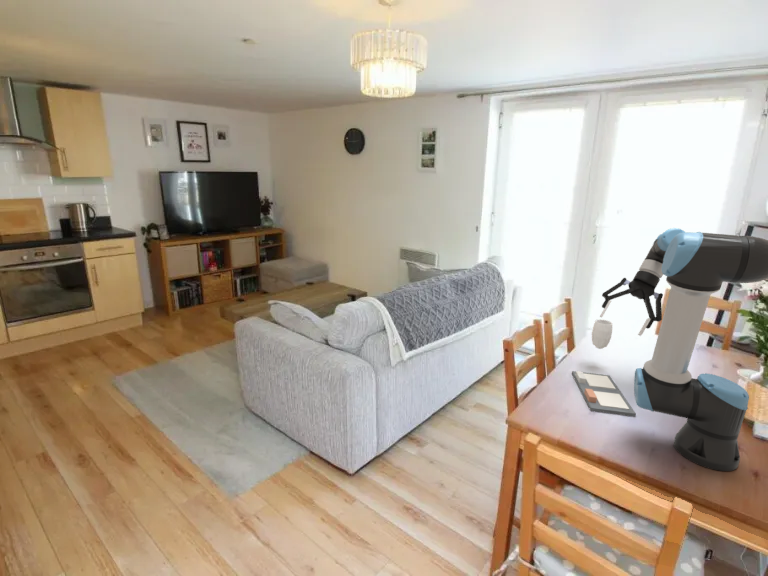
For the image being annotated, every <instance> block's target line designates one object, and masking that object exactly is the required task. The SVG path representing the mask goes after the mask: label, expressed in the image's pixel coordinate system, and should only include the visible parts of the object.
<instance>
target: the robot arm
mask: <svg viewBox="0 0 768 576" xmlns="http://www.w3.org/2000/svg"><path fill="white" fill-rule="evenodd" d="M663 275H664V276H665V277H666V278H665V279H666V280H665V281H666V283H667V284H668V285H669V286H670V288H669V289H670V291H669V294H668V296H667V297H668V298H667V301H666V305H665V309H664V313H663V314H662V298H663V296H664V294H663V293H662V292H661V293H658V292H655V290H656V288H657V286H658V285H659V282H660V281H661V279H662V277H663ZM766 280H768V239H767V238H762V237H758V236H751V235H739V234H738V235H734V234H724V233H712V232H710V233H709V232H701V231H697V232H686V231H684V230H683V229H681V228H677V227H673V228H669V229H667V230H665V231H664V232H662V233H661V234H659V235H658V236H657V237H656V239H655V240H654V242H653V243H652V246H651V247H650V249H649V251H648V253H647V255H646V256H645V258H644V260H643V261H642V263H641V265H640V267H639V269H638V271H637V272H636V273H635V275H634V277H633V278H632V280H628V279H627V278H626V277H623V278H622V279H621V281H619V282H618V283H616V284H615V285H613V286H612V287H611V288H609V289H608V290H606V291H604V292H602V294H601V297H603V298H604V302H603V303H602V304H601V308H603V310H602V311H601V314H600V315H599V318H603V317H604V315H605V313H606V311H607V309H608V308H609V306H610V305H611V302H612V300H614V299H616V298H617V299H618V298H620V297H623V296H626V295H629V294H630V295H631V296H632V297H635V298H637V299H639V300H643V303H644V305H645V308H646V311H647V314H648V318H646V320H645V322H644V323H643V325H642V327H641V329H640V330H639V332H638V333H637V335H638V336H640V337H641V336H642V335H643V334H644V332H645V330H646V329H650V328H651V327H652V325H653V323H654V322H661V324H660V327H659V331H658V334H657V338H656V343H655V346H654V349H653V354H652V357H651V359H650V360H646V361H645V362H644V364H643V367H639V368H638V367H637V368H635V370H634V377H633V378H634V379H633V389H634V390H633V391H634V393H633V394H634V401H635V404H636V406H637V407H639V408H641V409H645V410H649V411H651V412H652V413H654V412H655V413H656V412H657V413H660V414H666V415H670V416H674V417H679V418H684V419H686V422H685V424H684V425H683V426H681V428H680V429H679V431H678V432H677V433H676V434H675V436H674V440H673V446H674V448H675V449H676V451H677V452H678V453H679V454H680V455H682V456H683V457H684V458H686V459H688V460H690V462H693V463H695V464H697V465H699V466H702V467H704V468H707V469H711V470H714V471H720V472H731V471H735V470H736V469H738V467H739V464H740V460H741V457H740V451H739V450H740V449H739V444H738V442H739V441H738V438H739V435H740V431H741V428H742V426H743V425H742V424H743V421H744V418H745V416H746V413H747V410H748V408H749V407H748V405H749V400H750V395H749V392H748V391H747V390H746V389H745V388H743V387H742V386H741V385H740V384H738V383H736V382H735V381H733V380H730V379H727V378H726V377H723V376H721V375H720V376H719V375H716V374H713V373H707V372H706V373H700V374H699V375H698V376H697V378H693V376H692V373H691V372H690V371H689V370H688V369H689V365H690V362H691V358H692V356H693V352H694V349H695V346H696V342H697V339H698V337H699V334H700V333H699V332H700V329H701V327H702V323H703V321H704V317H705V313H706V311H707V308H708V303H709V301H710V298H711V295H712V294H715V293H717V292H719V291H720V290H721V287H722V285H723V283H725V282H726V283H732V284H733V283H734V284H736V283H737V284H751V283H757V282H762V281H766ZM626 285H627V286H628V289H624V290H623V291H620V292H616V293H613V292H615V291H616V290H617V289H619V288H621V287H623V286H626ZM611 293H612V294H611ZM652 296H653V297H654V300H655V313H654V310H653V309H654V308H653V306H652V302H651V298H650V297H652Z"/></svg>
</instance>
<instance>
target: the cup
mask: <svg viewBox="0 0 768 576" xmlns="http://www.w3.org/2000/svg"><path fill="white" fill-rule="evenodd" d="M612 334H613V322H612V321H610V320H607V319H596V320H595V321H594V323H593V327H592V331H591V342H592V345H593V346H595V348H596V349H599V350H601V349H603V348H607V347H608V345H609V344H610V342H611V340H612Z"/></svg>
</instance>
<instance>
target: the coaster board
mask: <svg viewBox="0 0 768 576" xmlns="http://www.w3.org/2000/svg"><path fill="white" fill-rule="evenodd" d="M572 374H573V375H572ZM571 375H572V378H573V379H574V380H575V383H576V385H577V387H578V389H579V390H580V392H581V395H582V397H583V398H584V401H585V402H586V404H587V407H588V409H589V408H590V409H589V410H591V412H594V411H595V412H596V413H604V414H612V415H618V416H619V415H620V416H627V417H635V418H636V416H637V412H636V411H635V410H634V408H633V407H632V405H631V404H630V402H629V401H628V400H627V398H626V396H624V394H623V392H622V391H621V390H620V388H619V387H618V385H617V384H616V382H615V381H614V379H613V378H612V376H611V375H610V374H602V373H601V374H600V373H593V372H592V373H591V372H583V371H578V370H575V371H574V370H572V371H571Z"/></svg>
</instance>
